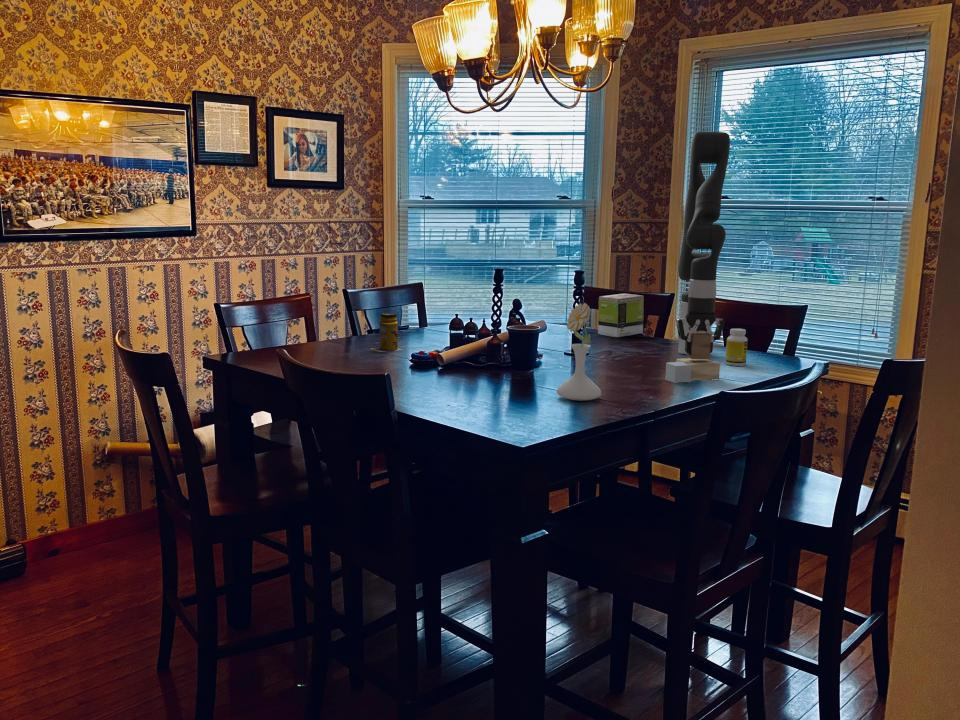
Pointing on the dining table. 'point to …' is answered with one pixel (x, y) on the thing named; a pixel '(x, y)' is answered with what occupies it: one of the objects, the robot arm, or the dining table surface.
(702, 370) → the maple block
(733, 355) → the pill bottle
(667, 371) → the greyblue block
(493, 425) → the dining table surface
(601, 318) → the tea box
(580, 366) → the flower in vase
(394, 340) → the condiment
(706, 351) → the walnut block
